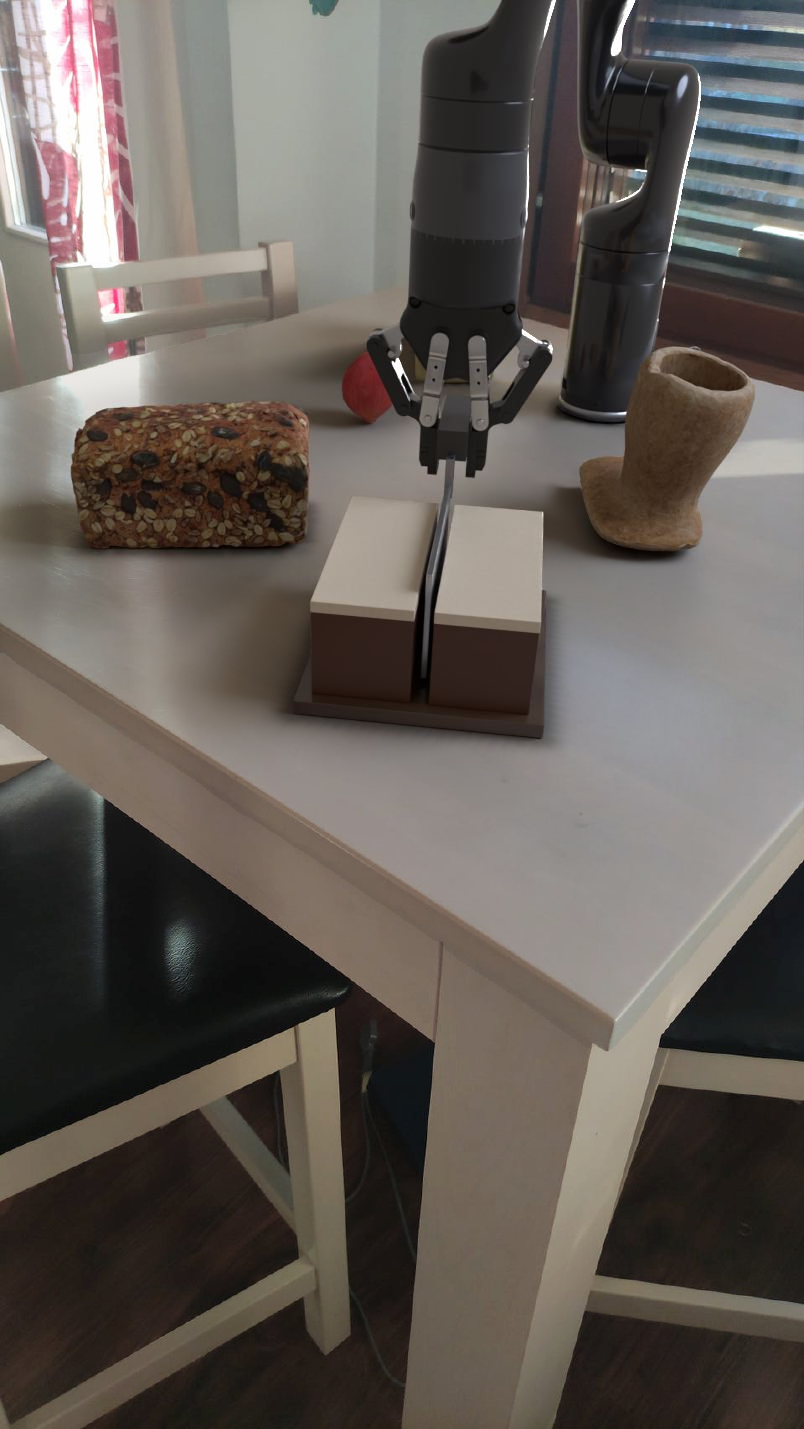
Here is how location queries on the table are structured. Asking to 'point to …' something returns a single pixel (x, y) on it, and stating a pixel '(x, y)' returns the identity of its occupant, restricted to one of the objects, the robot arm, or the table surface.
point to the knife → (444, 504)
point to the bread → (193, 475)
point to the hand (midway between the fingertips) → (451, 471)
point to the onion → (365, 389)
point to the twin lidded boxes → (467, 621)
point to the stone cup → (667, 450)
